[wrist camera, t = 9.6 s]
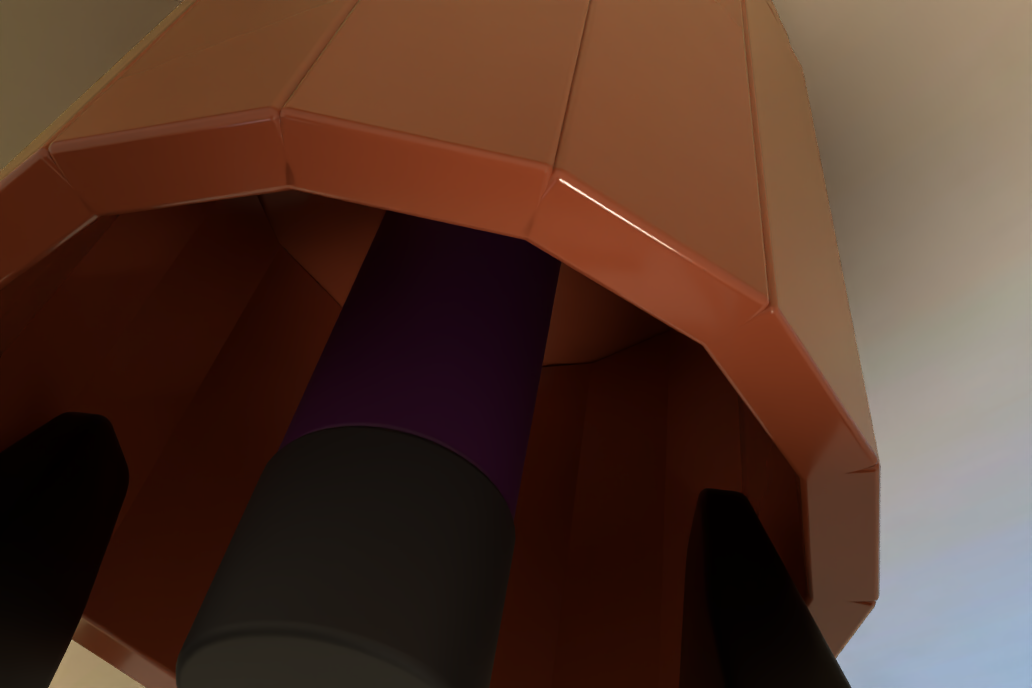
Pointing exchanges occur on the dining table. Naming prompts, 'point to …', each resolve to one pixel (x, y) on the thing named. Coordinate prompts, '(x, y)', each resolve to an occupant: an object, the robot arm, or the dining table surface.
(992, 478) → the dining table surface
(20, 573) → the robot arm
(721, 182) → the pen cup
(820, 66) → the dining table surface
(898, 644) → the dining table surface
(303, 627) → the glue stick
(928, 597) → the dining table surface
